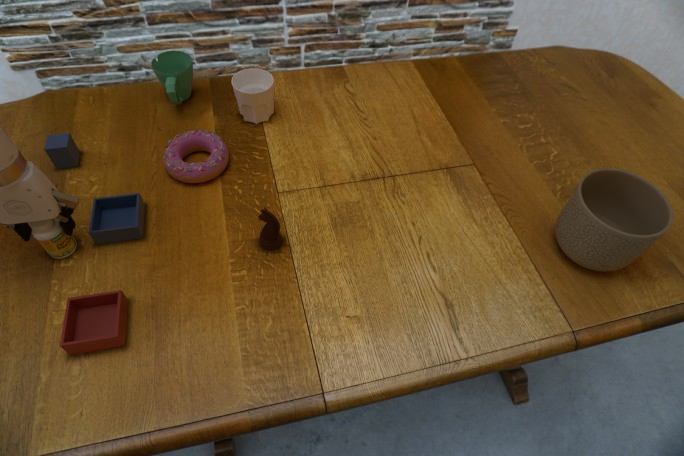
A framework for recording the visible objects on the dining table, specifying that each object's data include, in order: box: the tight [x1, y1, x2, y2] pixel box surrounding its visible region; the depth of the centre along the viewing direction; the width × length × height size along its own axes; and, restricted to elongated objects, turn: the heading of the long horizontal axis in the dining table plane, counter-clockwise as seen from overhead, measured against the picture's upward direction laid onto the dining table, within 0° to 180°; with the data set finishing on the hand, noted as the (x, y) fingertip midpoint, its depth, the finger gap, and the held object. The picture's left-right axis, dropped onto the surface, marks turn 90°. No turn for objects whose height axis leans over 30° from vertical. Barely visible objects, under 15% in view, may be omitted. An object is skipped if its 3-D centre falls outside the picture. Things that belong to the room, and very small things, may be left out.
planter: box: [554, 167, 675, 273], centre depth 91 cm, size 17×17×15 cm
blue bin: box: [88, 192, 146, 246], centre depth 94 cm, size 9×9×4 cm
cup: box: [230, 67, 275, 125], centre depth 115 cm, size 10×10×10 cm
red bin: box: [59, 289, 130, 356], centre depth 80 cm, size 9×9×4 cm
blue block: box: [43, 132, 81, 169], centre depth 103 cm, size 5×5×6 cm
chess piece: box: [257, 207, 283, 251], centre depth 91 cm, size 5×5×10 cm
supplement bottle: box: [27, 218, 78, 260], centre depth 88 cm, size 5×5×10 cm
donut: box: [162, 129, 230, 184], centre depth 105 cm, size 14×14×5 cm
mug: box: [150, 49, 194, 105], centre depth 116 cm, size 15×10×10 cm
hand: (50, 232), depth 87 cm, fingers open, 6 cm apart
